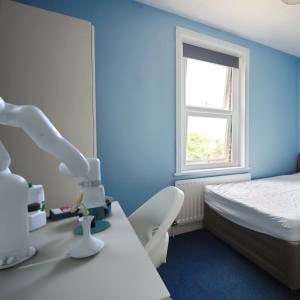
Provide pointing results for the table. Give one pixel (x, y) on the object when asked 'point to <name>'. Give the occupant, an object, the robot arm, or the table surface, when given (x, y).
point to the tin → (99, 212)
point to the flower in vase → (85, 234)
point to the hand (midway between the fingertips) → (94, 217)
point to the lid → (94, 226)
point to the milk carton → (36, 195)
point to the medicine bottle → (35, 216)
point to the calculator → (62, 213)
